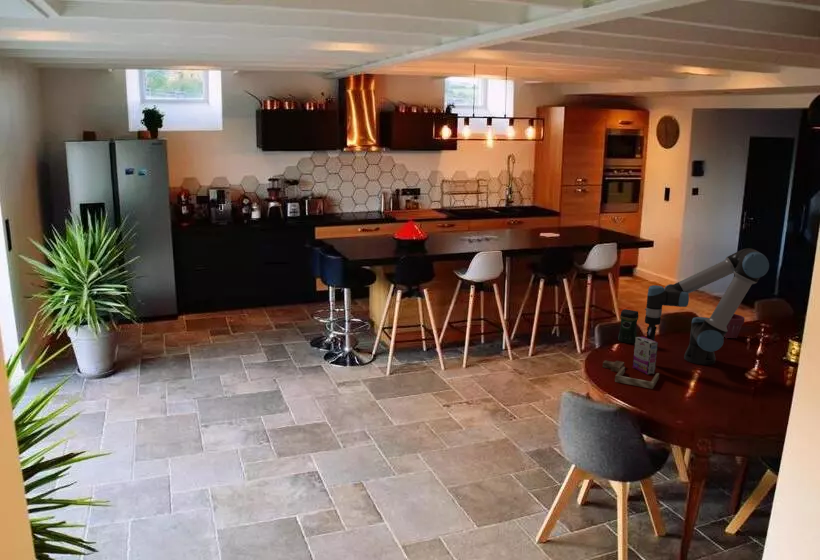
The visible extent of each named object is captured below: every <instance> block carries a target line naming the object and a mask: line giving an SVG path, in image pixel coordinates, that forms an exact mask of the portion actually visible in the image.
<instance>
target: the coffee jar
mask: <svg viewBox="0 0 820 560" xmlns="http://www.w3.org/2000/svg"><path fill="white" fill-rule="evenodd" d="M639 318H640V317H639V311H637V310H633V309H626V308H624V309H622V310H621V311H620V327H619V332H618V342H621V343H625V344H630V343H632V344H635V338H636V337H638V336H637V335H638V334H637V325H638V324H637V323H638V320H639Z"/></svg>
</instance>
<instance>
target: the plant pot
mask: <svg viewBox="0 0 820 560" xmlns="http://www.w3.org/2000/svg"><path fill="white" fill-rule="evenodd" d="M744 324H745V316H742V315H741V314H738V313H737V314H736V313H734V315H733V316H732V318H731V320H730V321H729V323H728V325H727V330H728V331H727V333H726V334H725V336H724V337H725V338H724V339H727V338H736V339H738V336H739V334H740V331H741V328H742V327H743V326H742V325H744Z"/></svg>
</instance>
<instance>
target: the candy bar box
mask: <svg viewBox="0 0 820 560" xmlns="http://www.w3.org/2000/svg"><path fill="white" fill-rule="evenodd" d="M658 346H659V342H657V341H656V340H654V341H653V340H650V339H648V338H647V337H645V336H637V337H636V338H635V343H634V349H633V352H634V353H633V359H632V369H633V370H636V371H638V372H641V373H643V374H645V375H648V376H649V375H654V374H655V375H656V363H657V356H658V355H657V354H658Z"/></svg>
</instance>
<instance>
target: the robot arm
mask: <svg viewBox="0 0 820 560" xmlns="http://www.w3.org/2000/svg"><path fill="white" fill-rule="evenodd" d="M769 262H770V261H769V260H768V258H767V256H766V255H765V254H764V253H761V252H760V251H758V250H756V249H754V248H743V249H740V250H738V251H736V252H734V253H731V254H730V255H728V256H726V258H725V260H722V261H720V262H718V263H716V264H714V265H711V266H709V267H707V268H706V269H704V270H701V271H699V272H697V273H695V274H693V275H691V276H689V277H686V278H684V279H682V280H680V281H678V282H676V283H674V284H672V283H669V284H667V285H666V286H662V285H657V284H656V285H653V284H652V285H650V286H649V287H648V291H647V297H646V308H644V311H645V316H644V317H645V318H644V323H645V324H647V325H648V326H647V327H646V338H648V339H650V340H653V341H655V339H656V331H657V328H658V327H657V326H658V325H660V324H661V322H662V320H661V319H662V314H663V313H662V311H663V307H664V306H666V307H677V308H686V307H688V306H689V301H690V295H689V294H690V293H692V292H695V291H697V290H700V289H702V288H704V287H706V286H709V285H710V284H713V283H714V282H717V281H718V280H721V279H723V278H726V277H727V276H729V275H732V274H734V277H733V278H732V280H731V282H730V283H729V285H728V287H727V288H726V290H725V292H724V294H723V295H722V297H721V298H720V300H719V302H718V303H717V305H716V306H715V309H713V312H712V314H711V316H710V317H702V316H701V317H699V316H696V317H693V318H692V320H691V327H690V333H689V334H690V335H689V345H688V346H687V349H686V350H685V353H684V355H683V359H684V360H685V361H687V362H689V363H692V364H695V365H703V366H704V365H705V366H709V365H714V364H715V363H716V359H717V358H716V355H715V352H716V351H718V350H720V349H721V348H722V347H723V345H724V341H725V340H724V339H725V338H724V336H725V334H726V333H727V331H728V330H727V325H728V323H729V321H730V320H731V318H732V316H733V315H734V314H736V311H737V310H738V308H739V306H740V305H741V303H742V302H743V300H744V298H745V297H746V294H747V293H748V292H749V290H750V288H751V286H752V285H755V284H757V283H758V282H759V280H760V278H762V277H764V276H765V275H766V274H767V273H768V271H769V269H770V263H769Z"/></svg>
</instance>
